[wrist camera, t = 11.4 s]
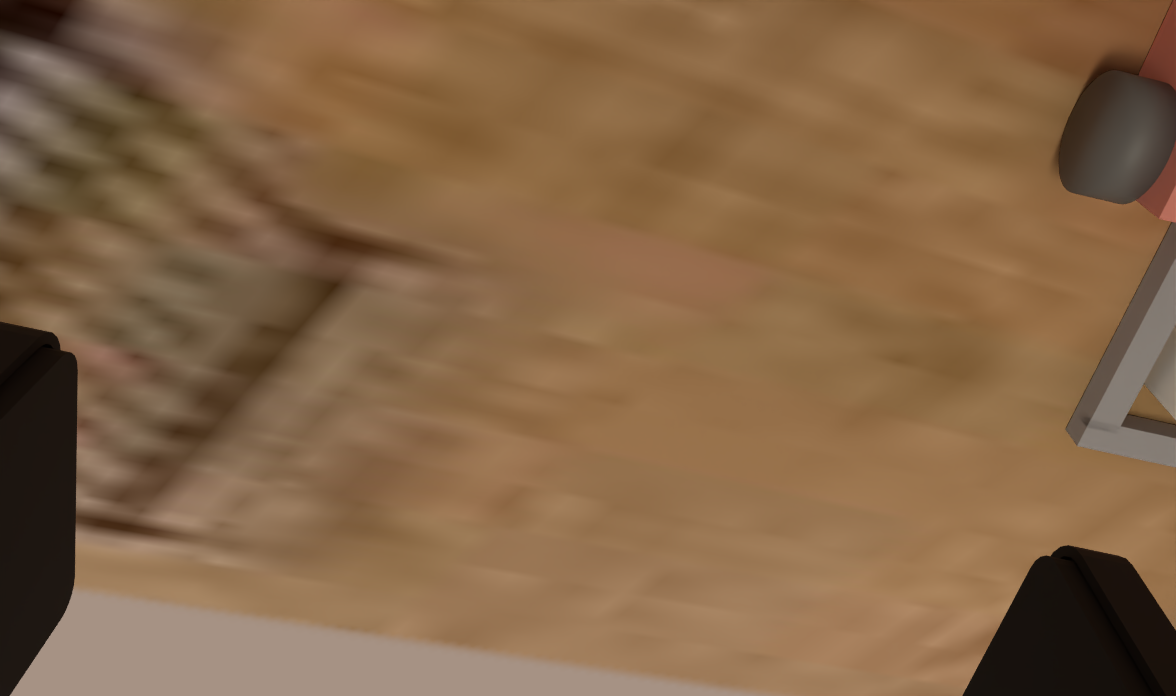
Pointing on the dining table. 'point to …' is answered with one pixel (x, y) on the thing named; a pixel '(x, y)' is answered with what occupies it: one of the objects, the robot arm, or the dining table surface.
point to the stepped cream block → (1165, 375)
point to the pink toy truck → (1172, 282)
